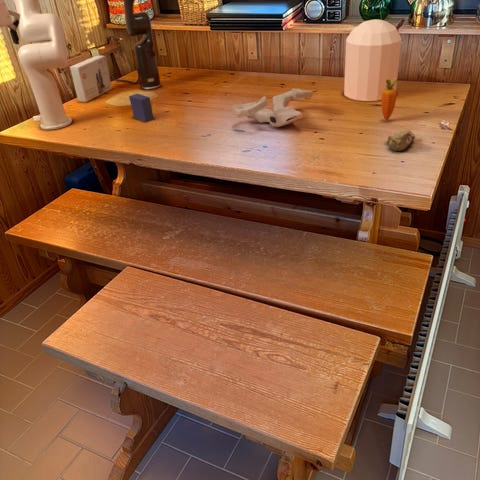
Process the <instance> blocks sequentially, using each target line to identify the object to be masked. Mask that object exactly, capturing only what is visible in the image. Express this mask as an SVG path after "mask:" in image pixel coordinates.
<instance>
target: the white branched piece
mask: <svg viewBox="0 0 480 480" xmlns="http://www.w3.org/2000/svg"><path fill="white" fill-rule="evenodd" d="M313 93H314V92H313V91H312V90H307V89H302V88H292V89H291V90H289V91H286V92H283V93H281V94H277V95H275V96H272V102H271V103H272V107H273V109H272V110H271V109H266V108H265V107H267V106H268V98H267V96H266V95H264V96H262V97H261V98H260V99H259V100H258V101H257V102H256V101H251V102H246V103H240V104H234V105H232V106H231V107H232V108H231V109H232V112H233V113H234V115H235V116H237V118H244V117H246V118H248V119H252V120H257V122H259V123H269V124H270V126H272V127H274V128H280V127H284V126H287V125H290V124H294V123H296V121H298V120H301V119H302V112H301V111H300V110H297V109H295V108H294V107H291V106H288V105H289V103H290V102H292V101H299V100H308V101H310V100H311V99H312V97H313Z"/></svg>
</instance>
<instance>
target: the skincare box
mask: <svg viewBox="0 0 480 480" xmlns="http://www.w3.org/2000/svg"><path fill="white" fill-rule="evenodd" d="M69 70H70V74H71V78H72V82H73V86H74V90H75V94H76V98H77V102H81V103H82V102H84V103H87V102H89V101H91V100H93V99H95V98H97V97H100V96H101V95H103V94H105V93H107V92H108V91H110V90H112V89H113V86H112V81H111V78H110V76H111V75H110V72H109V71H110V70H109V66H108V62H107V57H106V55H100V54H99V55H95V56H92V57H90V58H87V59H85V60H83V61H80V62H78V63H75V64H73V65H71V66H69Z"/></svg>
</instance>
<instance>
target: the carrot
mask: <svg viewBox="0 0 480 480" xmlns="http://www.w3.org/2000/svg"><path fill="white" fill-rule="evenodd" d="M396 81H397V82H398V78H397V79H395V80H394V82H393V84H391V82H390V79H386V83H387V85H386V87H387V88H386V89H384V90H383V91H382V98H381V100H380V101H381V102H380V104H381V112H382V113H381V114H382V117H383V119H384V120H385V121H386V122H388V121H389V119H390V118H391V117H392V114H393V112H394V109H395V106H396V101H397V96H398V95H397V94H398V91H397V89H396V90H395V89H394V88H393V86H394V84H395V83H396ZM389 85H390V86H389ZM391 85H392V86H391Z"/></svg>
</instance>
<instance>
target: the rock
mask: <svg viewBox="0 0 480 480" xmlns="http://www.w3.org/2000/svg"><path fill="white" fill-rule="evenodd" d="M415 139H416V135H415V134H414V132H412V131H411V130H408V129H407V130H404V131H398V132H396V133H394V134H393V135H392V134H391V135H389V136H388V137H387V143H388V145H387V146H388V147H389V149H391V150H392V151H395V152H404V151H406V150H407V148H409V145H410V144H411V143H412V142H413V141H414V140H415Z"/></svg>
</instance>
